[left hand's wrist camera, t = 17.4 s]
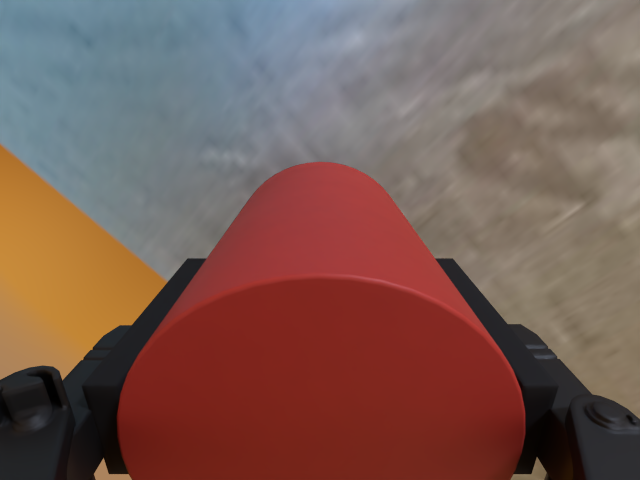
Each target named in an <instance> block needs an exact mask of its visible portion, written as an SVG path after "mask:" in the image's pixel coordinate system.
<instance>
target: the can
mask: <svg viewBox="0 0 640 480" xmlns="http://www.w3.org/2000/svg"><path fill="white" fill-rule="evenodd" d="M117 437H118V442H119V446H120V451H121V456H122V458H123V461H124V463H125V466H126V468H127V471H128V473H129V475H130V477H131V478H132V480H510V479H511V477H512V475H513V474H514V472H515V470H516V467H517V464H518V462H519V459H520V456H521V453H522V449H523V443H524V438H525V408H524V403H523V398H522V392H521V389H520V386H519V384H518V381H517V378H516V376H515V373H514V371H513V369H512V367H511V366H510V364H509V362H508V361H507V359H506V357H505V356H504V354H503V352H502V351H501V349H500V348H499V347H498V345H497V344H496V342H495V341H494V340H493V338H492V337H491V336H490V334H489V333H488V331H487V330H486V329H485V327H484V326H483V324H482V323H481V322H480V320H479V319H478V318H477V316H476V315H475V313H474V312H473V311H472V309H471V308H470V306H469V305H468V304H467V302H466V301H465V300H464V298H463V297H462V295H461V294H460V293H459V291H458V290H457V288H456V287H455V286H454V284H453V283H452V282H451V280H450V279H449V277H448V276H447V275H446V273H445V272H444V270H443V269H442V268H441V266H440V265H439V263H438V262H437V261H436V259H435V258H434V257H433V255H432V254H431V252H430V251H429V250H428V248H427V247H426V245H425V244H424V243H423V241H422V240H421V239H420V237H419V236H418V234H417V233H416V232H415V230H414V229H413V227H412V226H411V225H410V223H409V222H408V221H407V219H406V218H405V216H404V215H403V214H402V212H401V211H400V209H399V208H398V207H397V205H396V204H395V203H394V201H393V200H392V198H391V197H390V196H389V194H388V193H387V192H386V191H385V190H384V189H383V187H382V186H380V185H379V184H378V183H377V182H376V181H375V180H373V179H372V178H370V177H369V176H368V175H366V174H364V173H362V172H360V171H358V170H356V169H354V168H351V167H348V166H345V165H341V164H336V163H330V162H313V163H305V164H300V165H296V166H293V167H290V168H287V169H285V170H283V171H281V172H279V173H277V174H275V175H274V176H272V177H271V178H269V179H268V180H267V181H265V182H264V183H263V184H262V185H261V186H260V187H259V188H258V189H257V190H256V191H255V192H254V194H253V195H252V196H251V197H250V199H249V200H248V202H247V203H246V204H245V206H244V207H243V209H242V210H241V211H240V213H239V214H238V216H237V217H236V218H235V220H234V221H233V223H232V224H231V225H230V227H229V228H228V230H227V231H226V232H225V234H224V235H223V237H222V238H221V239H220V241H219V242H218V244H217V245H216V246H215V248H214V249H213V251H212V252H211V253H210V255H209V256H208V258H207V259H206V260H205V262H204V263H203V265H202V266H201V267H200V269H199V270H198V272H197V273H196V274H195V276H194V277H193V279H192V280H191V281H190V283H189V284H188V286H187V287H186V288H185V290H184V291H183V293H182V294H181V295H180V297H179V298H178V300H177V301H176V302H175V304H174V305H173V307H172V308H171V309H170V311H169V312H168V314H167V315H166V316H165V318H164V319H163V321H162V322H161V323H160V325H159V326H158V328H157V329H156V330H155V332H154V333H153V335H152V336H151V337H150V339H149V340H148V342H147V343H146V344H145V346H144V347H143V349H142V350H141V351H140V353H139V354H138V356H137V358H136V360H135V361H134V363H133V365H132V367H131V368H130V370H129V372H128V374H127V376H126V379H125V382H124V385H123V388H122V391H121V393H120V399H119V406H118V412H117Z"/></svg>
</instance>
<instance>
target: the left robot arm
mask: <svg viewBox="0 0 640 480" xmlns="http://www.w3.org/2000/svg"><path fill="white" fill-rule="evenodd" d="M205 260H206V259H187V260H186V261H185V262H184V263H183V265H182V266H181V267H180V268H179V269H178V271H177V272H176V273H175V274H174V275H173V277H172V278H171V279H170V280H169V281H168V283H167V284H166V285H165V286H164V287H163V289H162V290H161V291H160V292H159V294H158V295H157V296H156V297H155V298H154V299H153V301H152V302H151V303H150V304H149V305H148V307H147V308H146V309H145V310H144V311H143V313H142V314H141V315H140V316H139V317H138V319H137V320H136V321H135V322H134V323H133V325H123V326H122V325H120V326H118V327H117V328H115V329H114V330H112V331H110V332H109V333H107V334H106V335H104V336H103V337H102V338H101V339H100V340H99V341H98V343H97V344H96V345H95V346H94V347H93V350H90V351H89V352H88V353H87V355H86V356H85V357H84V359H83V360H81V361H80V362H79V363H78V364H77V365H76V367H75V368H74V369H73V370H72V371H71V372H70V373H69V374H68V375H67V376H66V377H65V378H64V380H63V381H62V378H61V375H60V372H59V371H58V370H57V369H56V368H54V367H50V366H37V367H31V368H27V369H24V370H21V371H18V372H15V373H13V374H11V375H9V376H7V377H5V378H3V379H1V380H0V480H95V477H94V473H95V471H96V469H97V467H98V466H99V464H100V463H101V461H102V459H103V458H104V460H105V463H106V466H107V469H108V473H109V474H129V473H128V471H127V468H126V466H125V463H124V461H123V458H122V456H121V451H120V446H119V442H118V437H117V412H118V406H119V399H120V393H121V391H122V388H123V385H124V382H125V379H126V376H127V374H128V372H129V370H130V368H131V367H132V365H133V363H134V361H135V360H136V358H137V356H138V354H139V353H140V351H141V350H142V349H143V347H144V346H145V344H146V343H147V342H148V340H149V339H150V337H151V336H152V335H153V333H154V332H155V330H156V329H157V328H158V326H159V325H160V323H161V322H162V321H163V319H164V318H165V316H166V315H167V314H168V312H169V311H170V309H171V308H172V307H173V305H174V304H175V302H176V301H177V300H178V298H179V297H180V295H181V294H182V293H183V291H184V290H185V288H186V287H187V286H188V284H189V283H190V281H191V280H192V279H193V277H194V276H195V274H196V273H197V272H198V270H199V269H200V267H201V266H202V265H203V263H204V262H205ZM436 261H437V262H438V263H439V265H440V266H441V268H442V269H443V270H444V272H445V273H446V275H447V276H448V277H449V279H450V280H451V282H452V283H453V284H454V286H455V287H456V288H457V290H458V291H459V293H460V294H461V295H462V297H463V298H464V300H465V301H466V302H467V304H468V305H469V306H470V308H471V309H472V311H473V312H474V313H475V315H476V316H477V318H478V319H479V320H480V322H481V323H482V324H483V326H484V327H485V329H486V330H487V331H488V333H489V334H490V336H491V337H492V338H493V340H494V341H495V342H496V344H497V345H498V347H499V348H500V349H501V351H502V352H503V354H504V356H505V357H506V359H507V361H508V362H509V364H510V366H511V367H512V369H513V371H514V373H515V376H516V378H517V381H518V384H519V386H520V389H521V392H522V398H523V403H524V408H525V438H524V443H523V449H522V453H521V456H520V459H519V462H518V464H517V467H516V470H515V472H514V474H531V473H532V470H533V467H534V464H535V461H536V458H537V457H538V459H539V460H540V462H541V464H542V465H543V467H544V469H545V470H546V472H547V474H546V477H545V480H640V419H639V418H638V417H636V416H635V415H634V414H633V413H632V412H631V411H629V410H628V409H627V408H625V407H623V406H621V405H620V404H618V403H616V402H615V401H612V400H610V399H607V398H604V397H602V396H597V395H592V394H591V393H590V392H589V391H588V389H587V388H586V387H585V386H584V385H583V384H582V383H581V382H580V381H579V380H578V379H577V378H576V376H575V375H574V374H573V373H572V372H571V371H570V370H569V369H568V368H567V367H566V366H565V365H564V363H563V362H562V361H561V360H560V359H557V356H556V355H555V354H554V353H553V352H552V350H551V349H548V346H547V345H546V344H545V343H544V342H543V341H542V340H541V339H540V337H539V336H538V335H537V334H535V333H534V332H532V331H530V330H529V329H527V328H526V327H524V326H522V325H521V324H507V323H506V322H505V321H504V319H503V318H502V317H501V316H500V315H499V313H498V312H497V311H496V310H495V309H494V307H493V306H492V305H491V304H490V303H489V301H488V300H487V299H486V298H485V297H484V295H483V294H482V293H481V292H480V291H479V289H478V288H477V287H476V286H475V285H474V284H473V282H472V281H471V280H470V279H469V278H468V276H467V275H466V274H465V273H464V272H463V270H462V269H461V268H460V267H459V266H458V264H457V263H456V262H455V261H454V260H453V259H436Z"/></svg>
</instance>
